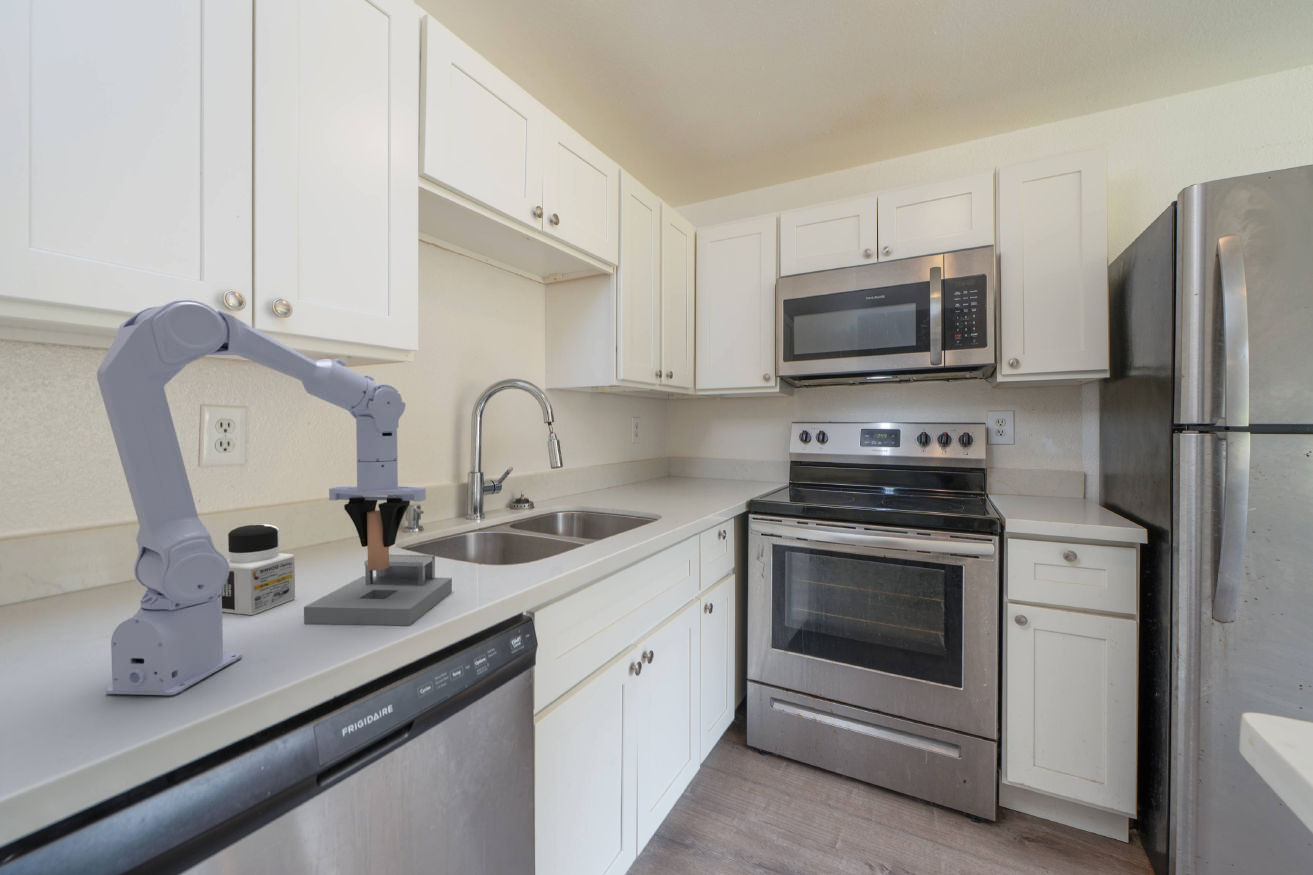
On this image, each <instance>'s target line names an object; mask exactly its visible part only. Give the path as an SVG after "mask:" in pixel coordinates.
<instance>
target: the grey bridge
mask: <svg viewBox="0 0 1313 875" xmlns="http://www.w3.org/2000/svg"><path fill="white" fill-rule="evenodd" d="M363 563H364V564H363V565H364V566H365V568H364V569H365V572H364V573H365V574H364V576H365V579H366V585H370V584H372V583H373V576H374V574H373V573H374V572H373V570H368V559H366V560H364V562H363ZM375 574H376V575H375V577H376V578H387V579H418V585H421V586H423V585H424V584H425V579H434V578H436V555H435V554H390V553H389V567H388V568H386V569H383V570H375Z"/></svg>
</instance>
